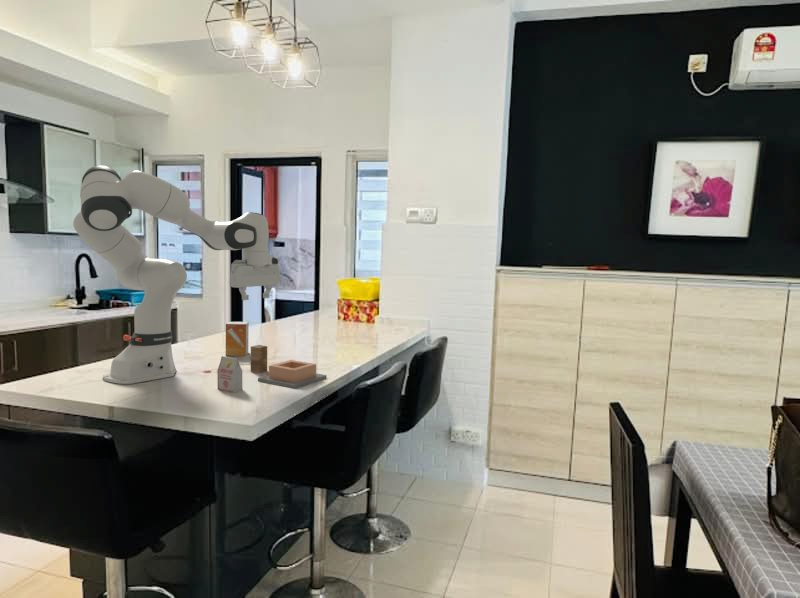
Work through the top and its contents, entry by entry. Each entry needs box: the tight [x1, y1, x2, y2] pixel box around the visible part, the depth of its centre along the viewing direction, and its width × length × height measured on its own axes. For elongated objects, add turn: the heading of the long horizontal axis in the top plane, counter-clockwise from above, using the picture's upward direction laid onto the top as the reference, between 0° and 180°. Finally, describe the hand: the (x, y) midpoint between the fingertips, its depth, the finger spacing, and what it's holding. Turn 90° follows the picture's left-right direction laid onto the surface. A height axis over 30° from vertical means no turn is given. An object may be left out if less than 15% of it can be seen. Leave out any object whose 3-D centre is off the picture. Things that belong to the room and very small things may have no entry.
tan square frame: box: [257, 359, 327, 389], centre depth 174 cm, size 16×16×5 cm
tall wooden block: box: [250, 344, 268, 374], centre depth 184 cm, size 4×4×9 cm
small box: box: [225, 321, 249, 357], centre depth 211 cm, size 8×6×13 cm
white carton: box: [216, 355, 243, 394], centre depth 160 cm, size 4×7×10 cm, turn 60°
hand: (255, 299), depth 184 cm, fingers open, 8 cm apart
